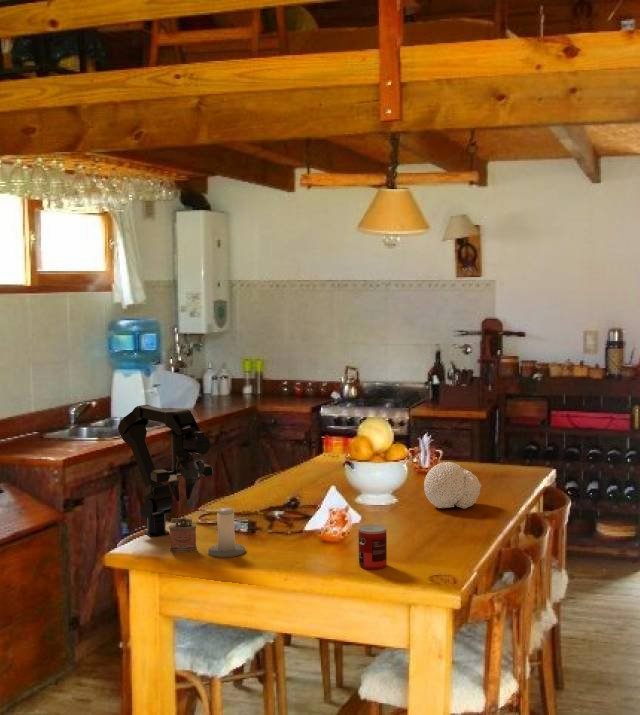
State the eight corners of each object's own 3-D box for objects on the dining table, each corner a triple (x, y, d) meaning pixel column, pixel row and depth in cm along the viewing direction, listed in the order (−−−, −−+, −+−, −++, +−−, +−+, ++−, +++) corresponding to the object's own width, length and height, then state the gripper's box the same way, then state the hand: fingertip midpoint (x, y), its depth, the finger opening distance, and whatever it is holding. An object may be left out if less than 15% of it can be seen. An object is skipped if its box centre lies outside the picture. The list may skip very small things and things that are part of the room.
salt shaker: (217, 546, 294) (216, 507, 292) (234, 546, 294) (233, 507, 293) (218, 551, 289) (217, 512, 288) (235, 550, 289) (234, 511, 288)
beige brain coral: (438, 492, 326) (444, 449, 335) (410, 506, 340) (416, 465, 348) (487, 512, 332) (491, 469, 341) (457, 526, 346) (462, 484, 355)
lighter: (197, 548, 296) (196, 516, 295) (196, 551, 293) (195, 518, 292) (170, 548, 296) (169, 516, 295) (169, 552, 293) (168, 519, 292)
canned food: (362, 560, 281) (362, 523, 280) (389, 562, 279) (389, 525, 278) (355, 568, 274) (355, 530, 273) (383, 571, 272) (383, 532, 271)
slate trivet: (202, 550, 294) (202, 547, 293) (235, 544, 299) (235, 541, 299) (217, 560, 284) (217, 556, 284) (251, 553, 290) (251, 550, 290)
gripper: (163, 458, 289) (164, 510, 291) (220, 451, 299) (221, 501, 301) (149, 452, 299) (150, 502, 300) (205, 445, 308) (206, 494, 310)
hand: (183, 500), depth 303 cm, fingers open, 3 cm apart
